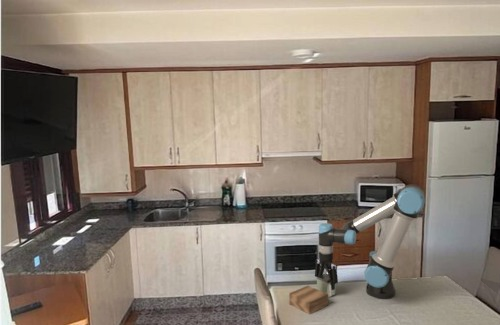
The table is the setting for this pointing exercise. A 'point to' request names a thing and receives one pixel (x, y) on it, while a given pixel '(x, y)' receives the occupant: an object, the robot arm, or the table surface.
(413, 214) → the robot arm
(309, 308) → the block
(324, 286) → the tea tin
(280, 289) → the table surface
